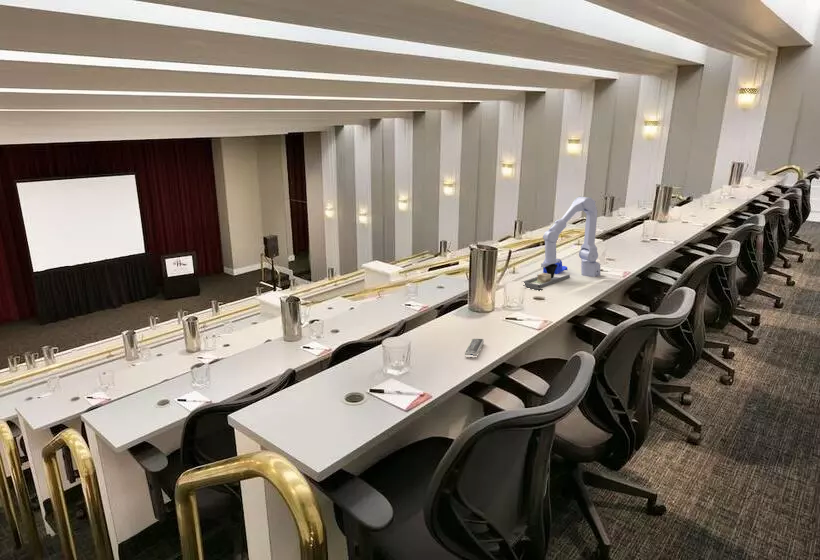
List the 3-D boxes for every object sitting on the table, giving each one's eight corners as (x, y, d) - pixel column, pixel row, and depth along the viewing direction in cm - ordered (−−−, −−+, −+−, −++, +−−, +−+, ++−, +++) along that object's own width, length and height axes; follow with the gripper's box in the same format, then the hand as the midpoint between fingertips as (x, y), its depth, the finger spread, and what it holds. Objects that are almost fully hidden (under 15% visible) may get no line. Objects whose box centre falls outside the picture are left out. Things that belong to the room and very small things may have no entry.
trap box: (569, 280, 283) (569, 274, 283) (539, 290, 267) (539, 285, 266) (551, 277, 292) (551, 272, 291) (521, 287, 276) (521, 282, 275)
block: (550, 281, 278) (550, 274, 277) (545, 283, 275) (545, 275, 274) (543, 280, 282) (543, 272, 281) (537, 281, 279) (537, 274, 278)
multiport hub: (484, 344, 202) (483, 338, 201) (476, 359, 189) (476, 353, 188) (472, 343, 203) (472, 338, 203) (464, 358, 190) (464, 352, 190)
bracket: (557, 276, 293) (557, 261, 291) (543, 275, 298) (543, 260, 296) (569, 269, 306) (569, 254, 304) (556, 268, 312) (555, 253, 309)
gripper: (552, 250, 286) (552, 274, 289) (536, 254, 277) (536, 279, 280) (563, 251, 281) (563, 275, 284) (547, 256, 272) (547, 281, 275)
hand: (550, 277), depth 282 cm, fingers closed
